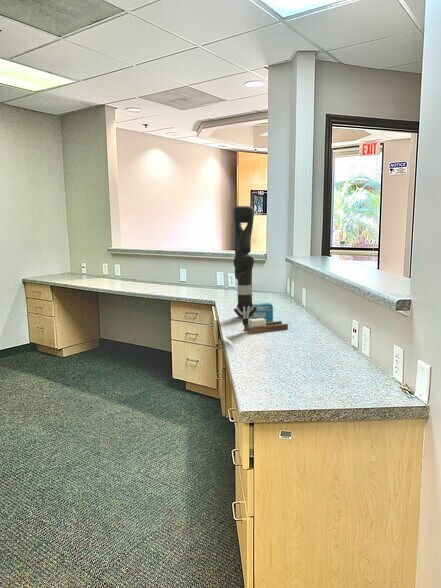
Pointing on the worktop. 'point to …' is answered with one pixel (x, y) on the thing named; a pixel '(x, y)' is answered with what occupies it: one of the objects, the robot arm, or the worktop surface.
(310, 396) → the worktop surface
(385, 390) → the worktop surface
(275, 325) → the walnut chute
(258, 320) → the sand block
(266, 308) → the blue labeled box
